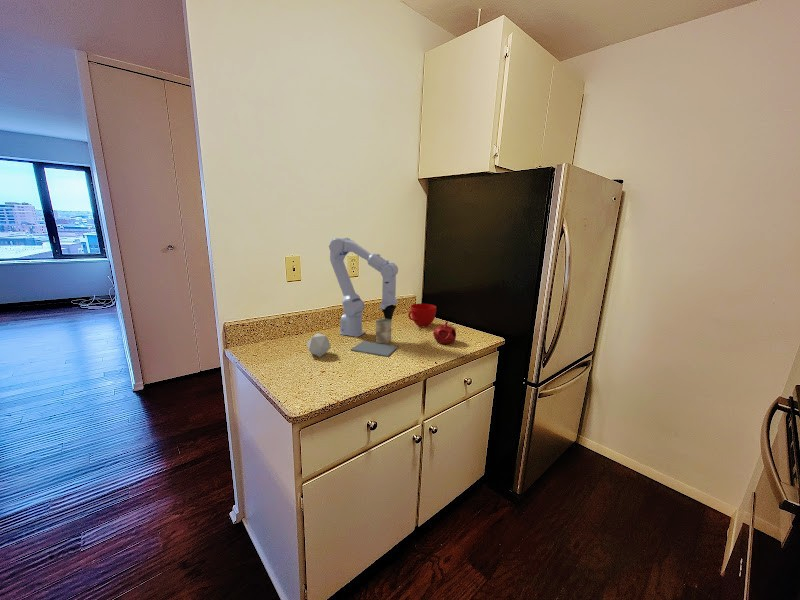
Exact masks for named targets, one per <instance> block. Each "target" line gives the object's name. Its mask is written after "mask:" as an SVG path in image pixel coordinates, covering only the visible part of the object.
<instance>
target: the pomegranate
mask: <svg viewBox="0 0 800 600" xmlns="http://www.w3.org/2000/svg"><path fill="white" fill-rule="evenodd" d="M448 323H449V321H445V323H444V324H442V323H439V324H437V325H438V326H437V327H436V328H435V329H434V330H433V333H432V334H433V338H434V340H435V341H436V342H437V343H439V344H442V345H449V344H452V343H454V342H455V341H456V339H457V331H456V329H455V328H454V327H451V326H453V324H449V325H448Z"/></svg>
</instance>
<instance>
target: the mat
mask: <svg viewBox="0 0 800 600" xmlns="http://www.w3.org/2000/svg"><path fill="white" fill-rule="evenodd" d="M398 347H399V346H397V345H390V344H387V345H385V344H379V343H376V342H372V341H365V340H363V341H361V342H360V343H358V344H356V345H354V346H353V347H352V348H350V352H358V353H364V354H369V355H373V356H380V357H381V356H382V357H385V358H386V357H387V358H388V357H390V356H391V354H392V353H394V352H395V351H396V350H397V349H398Z"/></svg>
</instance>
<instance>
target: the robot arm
mask: <svg viewBox="0 0 800 600" xmlns="http://www.w3.org/2000/svg"><path fill="white" fill-rule="evenodd" d="M328 248H329V251H330V252H329V261H330V263H331V266H332V269H333V272H334V274H335V277H336V280H337V282H338V285H339V288H340V290H341V293H342V296H343V299H342V305H343V307H342V308H343V313H344V314H342V315H341V317H340V322H339V323H340V328H339V329H340V332H339V335H341V336H350V337H356V338H358V337H360V336H361V335H364V334H365V333H366V331H365V330H363V311H365V306H366V305H365V303H364V301H363V300H362V298H361V296H360V295H359V294H357V293H356V291H355V289H354V286H353V282H352V280H351V278H350V275H349V273H348V269H347V266H346V264H345V261H344V259H345V258H346V257H347V255H348V254H349V253H353V254H355V255H357V256H359V257H361V258H362V259H364V260H365V261H367V265H368V266H369V267H371V268H373V269H374V270H376V271H377V272H379V273H380V276H381V277H382V289H381V290H382V293H381V294H382V296H381V297H382V299H381V303H380V304H379V309H380V310H381V311H382V313H383V317H384V318H385V319H393V315H394V312H395V310H396V308H397V305H398V303H399V302H398V298H396V294H397V293H396V292H397V291H396V290H397V288H396V287H397V286H396V285H397V284H396V283H397V280H396V279H397V274H398V272H399V268H398V266H397V264H395V263H394V262H390V261H389V260H388V259H387V260H386V259H385V258H383V257H382V256H381V254H380V253H371V252H369V251H368V250H366V249H365V248H363V247H362V246H361V245H359V244H358V243H356V242H355V241H354V240H352V239H351V238H349V237H334V238H333V239H331V241H330V242H329V245H328Z"/></svg>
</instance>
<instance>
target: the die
mask: <svg viewBox="0 0 800 600" xmlns="http://www.w3.org/2000/svg"><path fill="white" fill-rule="evenodd" d="M306 344H307V348H308V351H309V353H310V354H312V355H314V356H317V357H319V358H322V356H324V355H325V354H326V353H327V352H328V351H329V350H330V349H331V348H332V347H331V344H330V340H329V338H328V336H327V335H325V334H321V333H318V332H317V333H315V334H314V335H313V336H312V337H311V338H310V339H308V340H307V341H306Z"/></svg>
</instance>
